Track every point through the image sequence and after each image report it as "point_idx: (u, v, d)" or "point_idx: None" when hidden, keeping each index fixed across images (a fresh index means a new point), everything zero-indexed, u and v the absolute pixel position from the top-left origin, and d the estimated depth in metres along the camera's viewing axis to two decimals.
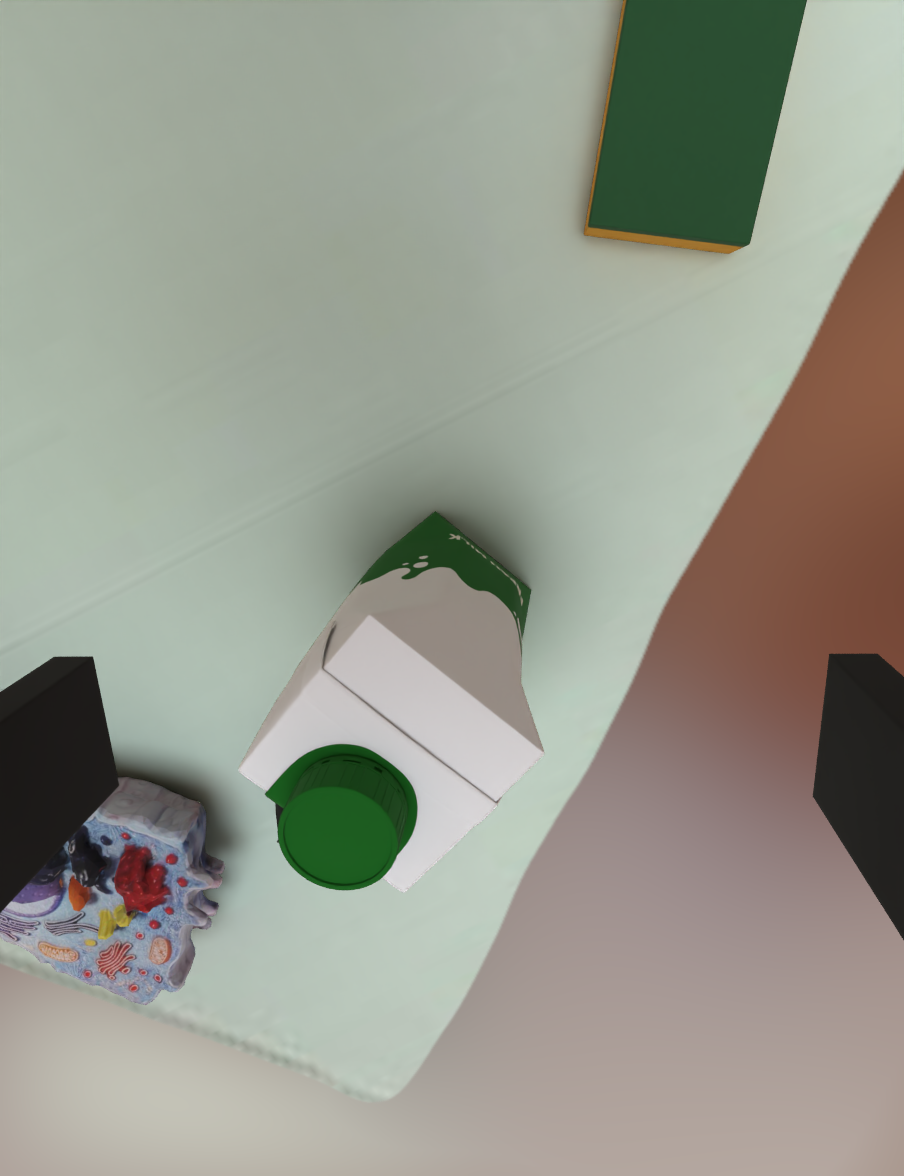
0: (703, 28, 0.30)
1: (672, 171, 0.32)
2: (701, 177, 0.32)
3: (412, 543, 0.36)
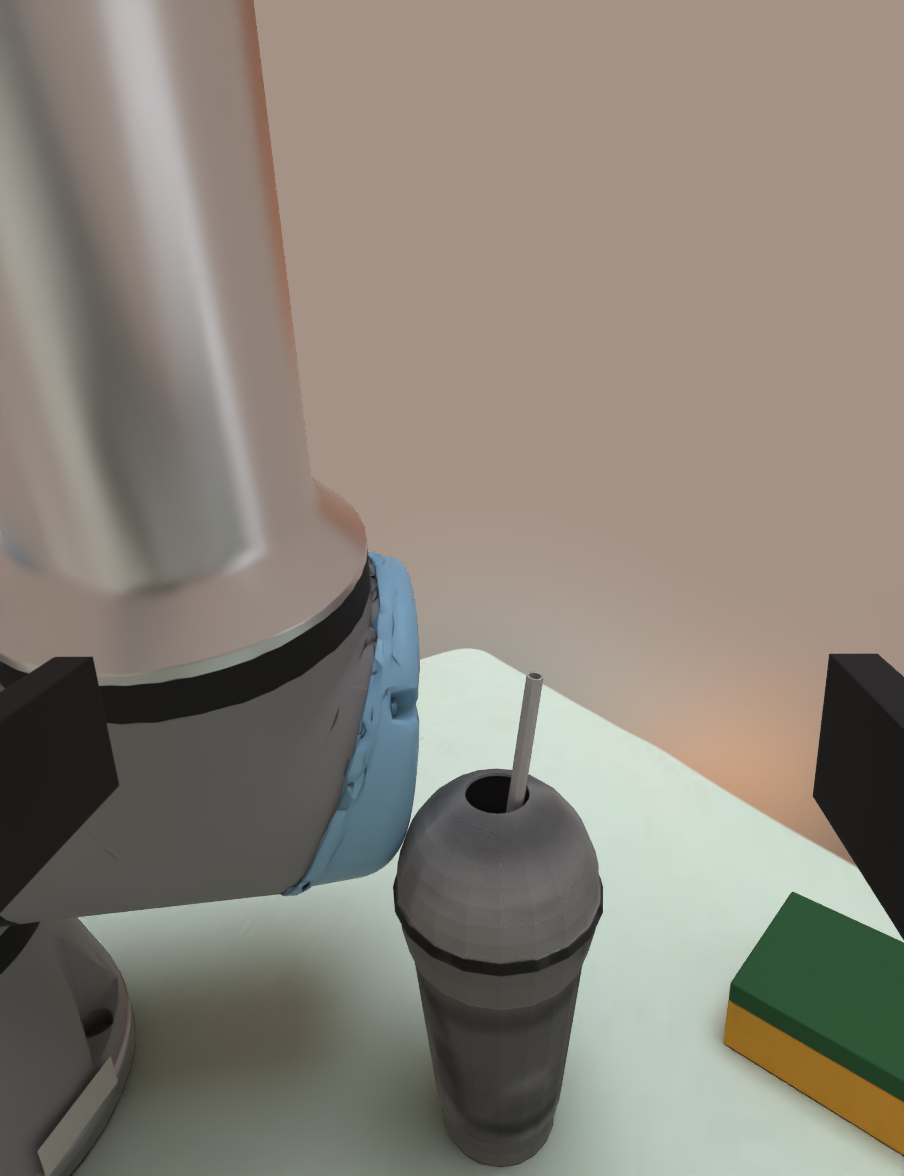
0: (841, 978, 0.31)
1: None
2: None
3: None
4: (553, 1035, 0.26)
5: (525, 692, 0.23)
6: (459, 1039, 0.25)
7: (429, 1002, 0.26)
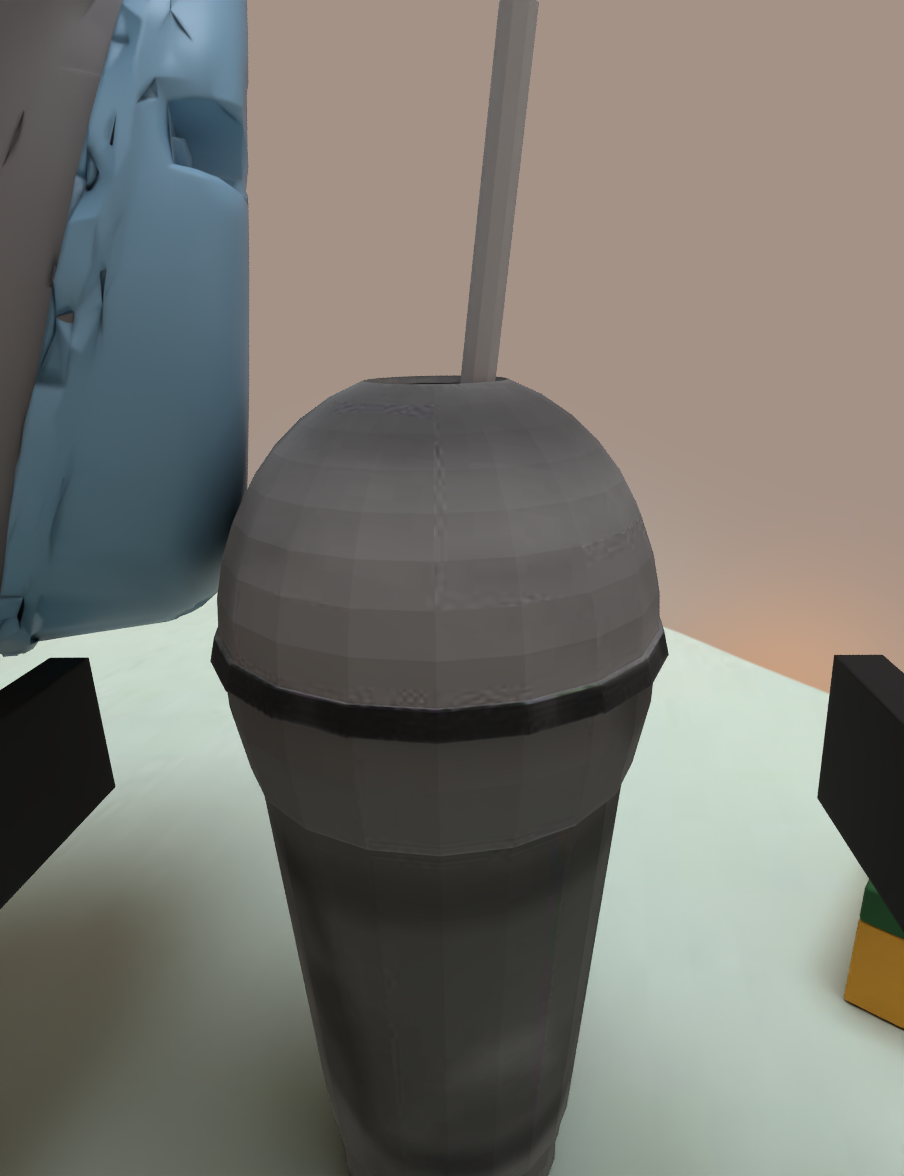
0: None
1: None
2: None
3: None
4: (561, 943, 0.12)
5: (496, 52, 0.09)
6: (353, 952, 0.11)
7: (291, 875, 0.12)
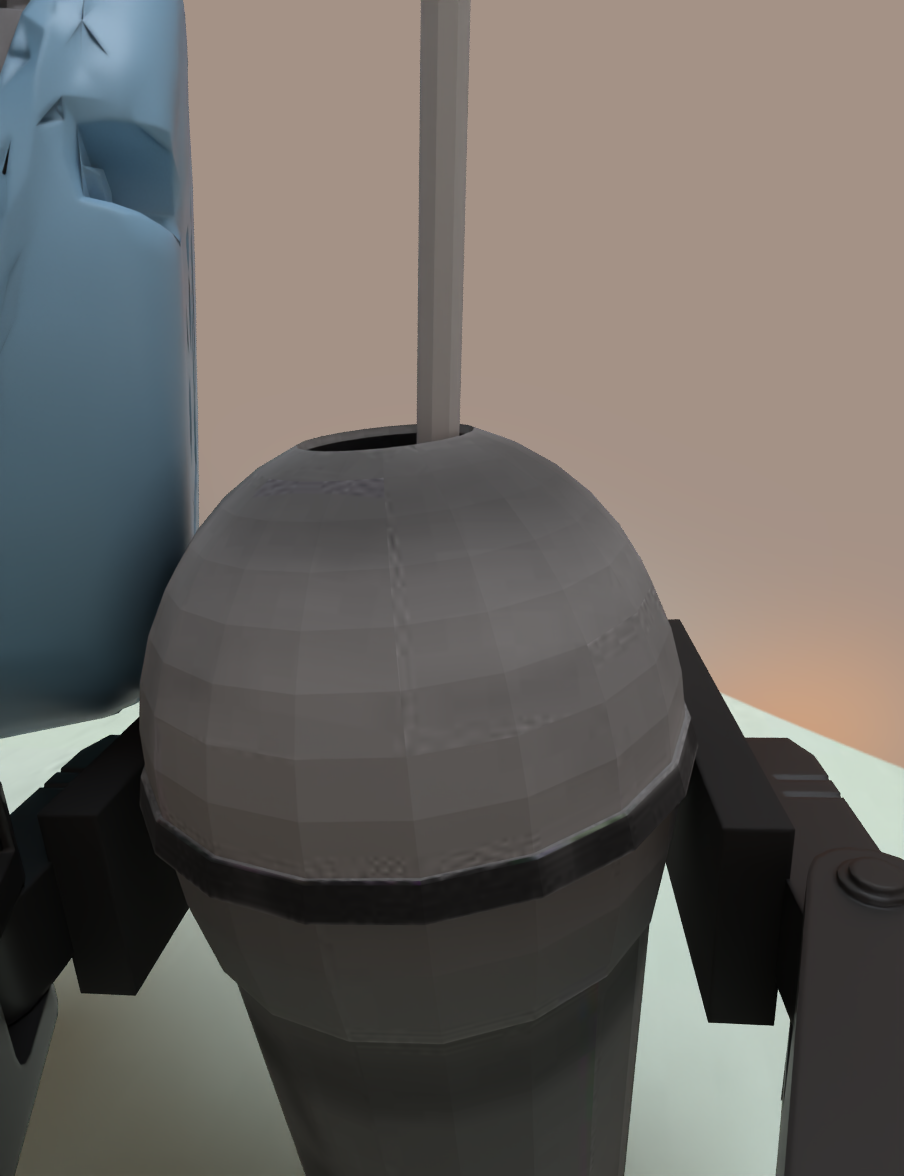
0: None
1: None
2: None
3: None
4: (599, 1101, 0.10)
5: (423, 25, 0.07)
6: (347, 1145, 0.09)
7: (264, 1051, 0.10)
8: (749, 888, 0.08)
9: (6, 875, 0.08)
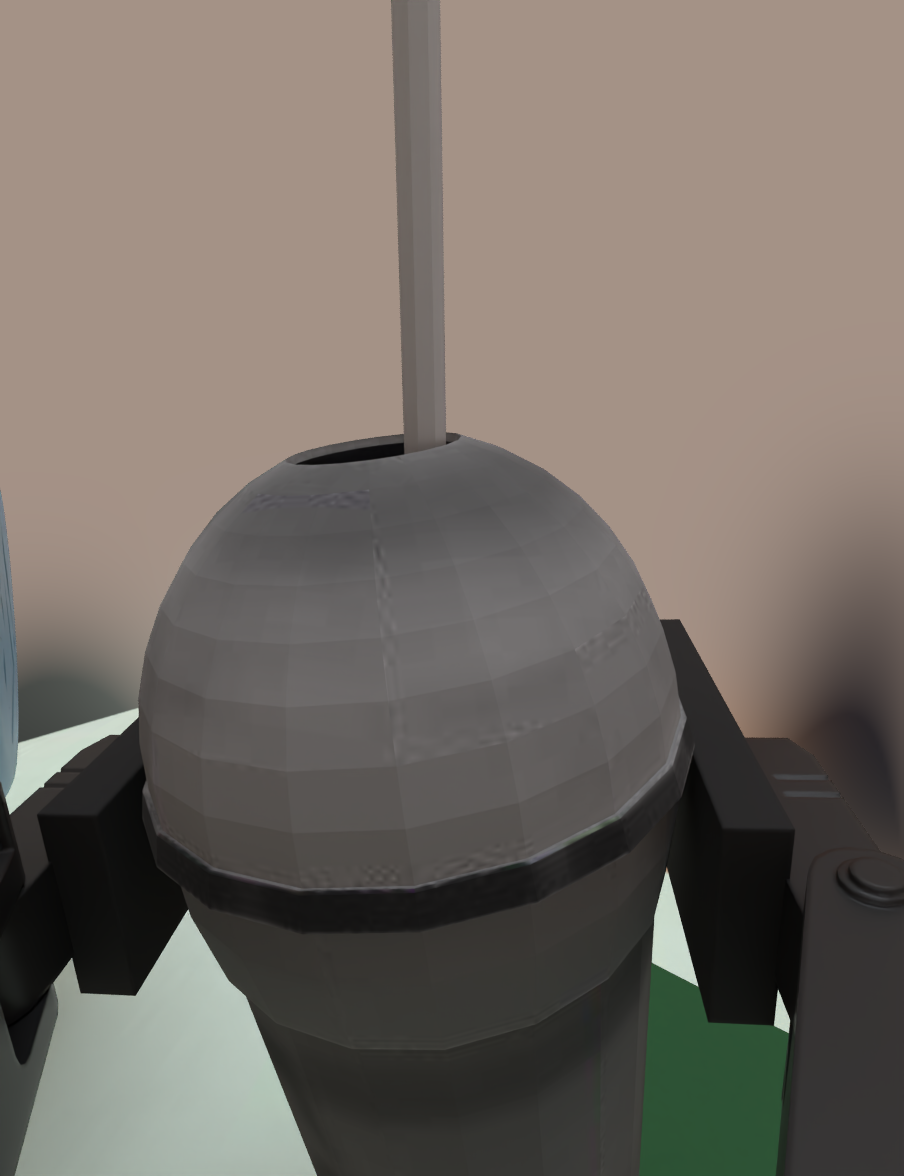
0: None
1: None
2: None
3: None
4: (607, 1103, 0.10)
5: (394, 42, 0.07)
6: (356, 1152, 0.09)
7: (272, 1059, 0.10)
8: (749, 888, 0.08)
9: (6, 875, 0.08)
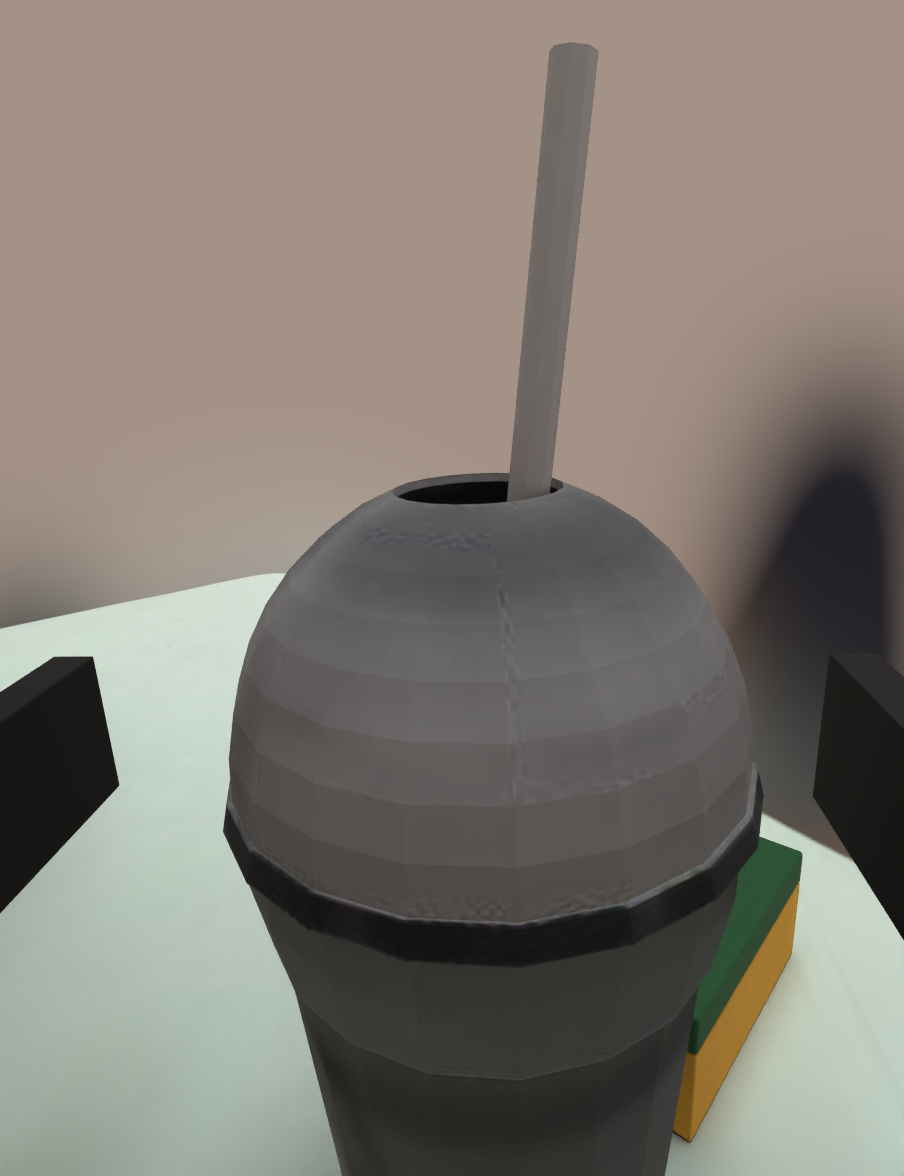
0: None
1: None
2: None
3: None
4: (652, 1138, 0.10)
5: (547, 111, 0.08)
6: (409, 1172, 0.09)
7: (328, 1076, 0.10)
8: None
9: None
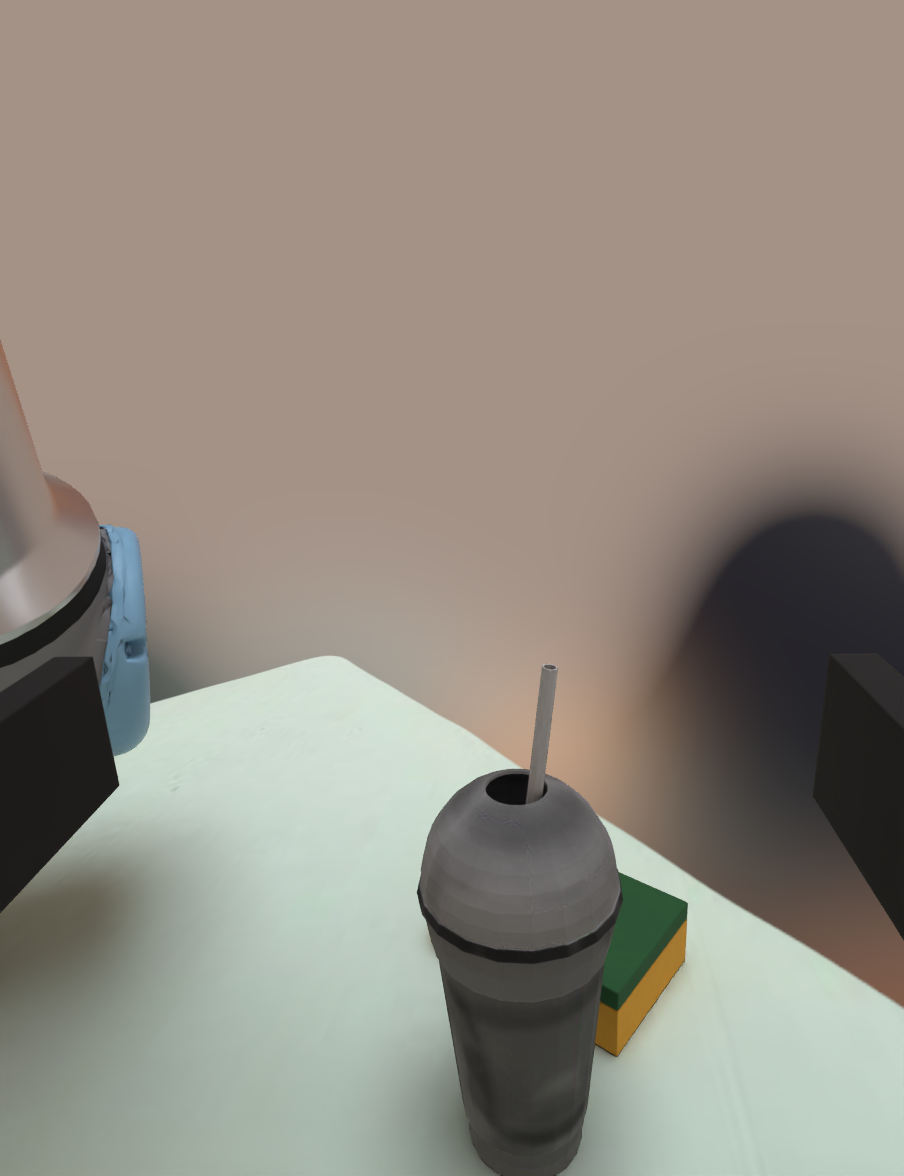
0: None
1: None
2: (619, 912, 0.36)
3: None
4: (582, 1030, 0.26)
5: (541, 684, 0.24)
6: (491, 1041, 0.25)
7: (458, 1006, 0.26)
8: None
9: None
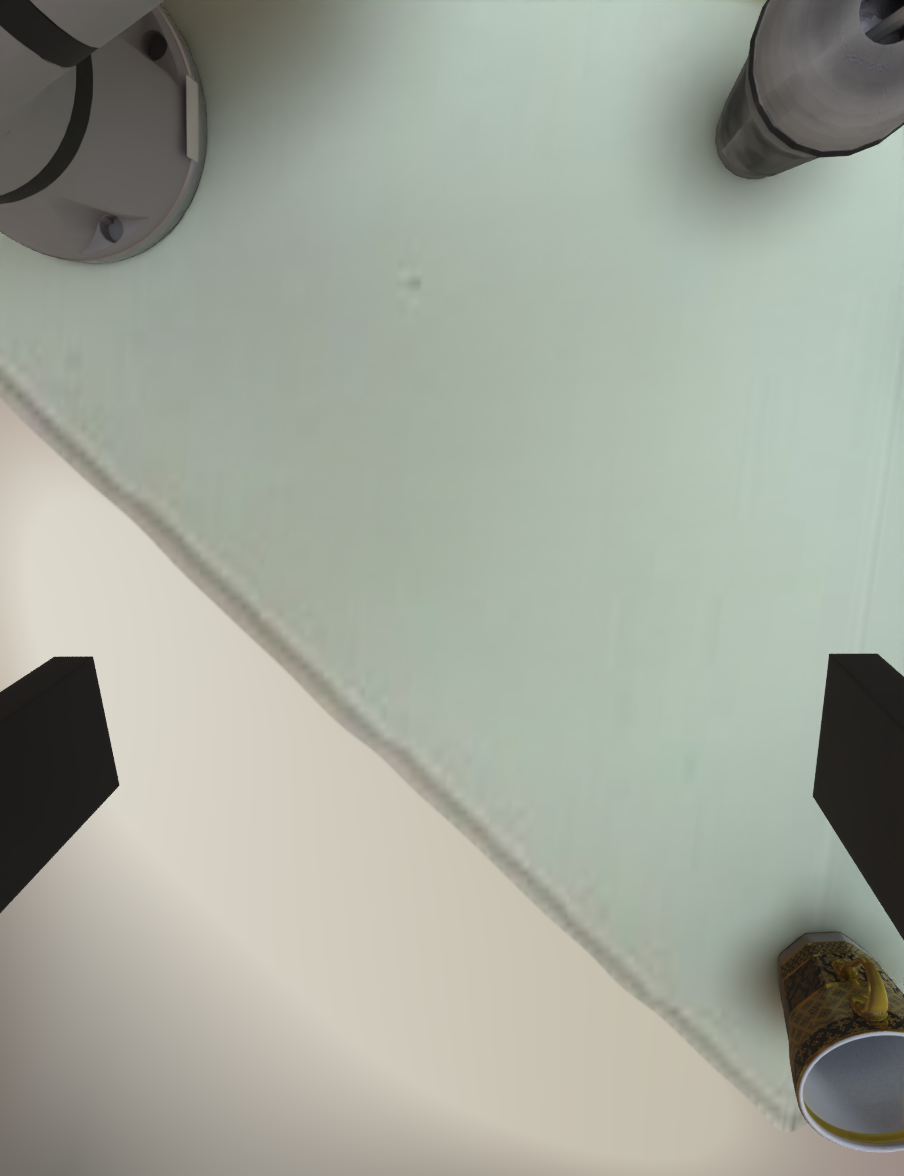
0: None
1: None
2: None
3: None
4: None
5: None
6: (778, 158, 0.34)
7: (758, 140, 0.33)
8: None
9: None
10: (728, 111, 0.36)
